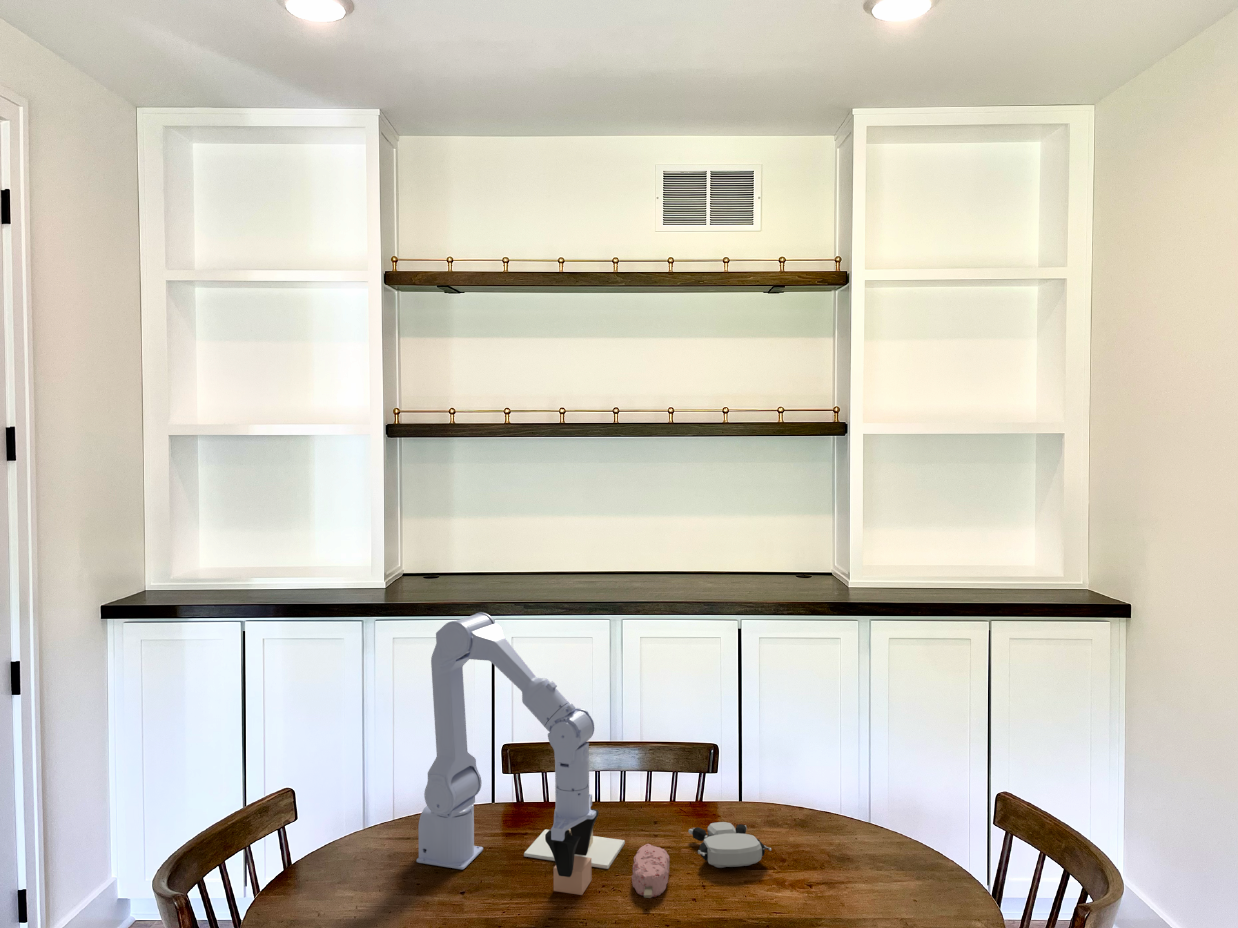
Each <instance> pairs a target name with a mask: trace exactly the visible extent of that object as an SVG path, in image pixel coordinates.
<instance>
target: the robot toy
mask: <svg viewBox="0 0 1238 928" xmlns="http://www.w3.org/2000/svg"><path fill="white" fill-rule="evenodd" d="M747 830H748V827H747V825H745V824H742V823H739V824H736V827H735V826H734V825H733V824H732V823H731V822H726V821H718V822H712V823H710V824H709V825H708V826H707V831H706V830H705V829H703V828H701V827H693V828H689V829H688V834H689V835H692V838H693V839H695V840H697V841H700V842H701V843H700V845H699V849H698V850H697V854H698V855H700V856H701V858H702V859H703V860H704V861H705V862H707V863H708V864H709V865H711V866H714V867H715V868H719V869H722V868H726V867H729V868H733V867H734V868H735V867H744V866H745V867H747V866H751V865H753V864H757V863H758V862H759V861H761V860H762V857H764V856H765V852H766V851H765V850H767V851H772V848H771V847H768V846H767V845H764V844H763V842H762V841H760V839H758V838H757V837H756V836H754V835H752V834H747Z"/></svg>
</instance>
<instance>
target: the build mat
mask: <svg viewBox="0 0 1238 928" xmlns="http://www.w3.org/2000/svg"><path fill="white" fill-rule="evenodd" d="M549 830H550V829H544V830H543V831H542V832H541V833H540V835H538V836H537V838H536V839H535V840H534V841H533V842H532V843H531V845H529V847H528V848H527V849H526V850H525V851H524V853H523V857H526V858H527V857H528V858H534V859H539V860H546V861H551V862H552V861H553V862H555V859H554V856H553V853H552V851H551V849H550V847H549V845H548V844H547V842H546V840H545V835H546V833H547V832H548V831H549ZM625 844H626V843H625V840H624V839H618V838H611V837H610V838H609V837H602V836H596V835H593V843H592V844H591V846H590V847H589V848H588V852H587V855H586V856H584V855H577V854H575V855H574V856H581V857H588V858H591V868H592V867H594V868H599V869H606V870H609V868H610V867H611V865H612V864H613V863H614V861H615V859H616V858H617V856H618V854H619V853H620V852H621V851H622V849H623V847H624V846H625Z"/></svg>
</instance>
